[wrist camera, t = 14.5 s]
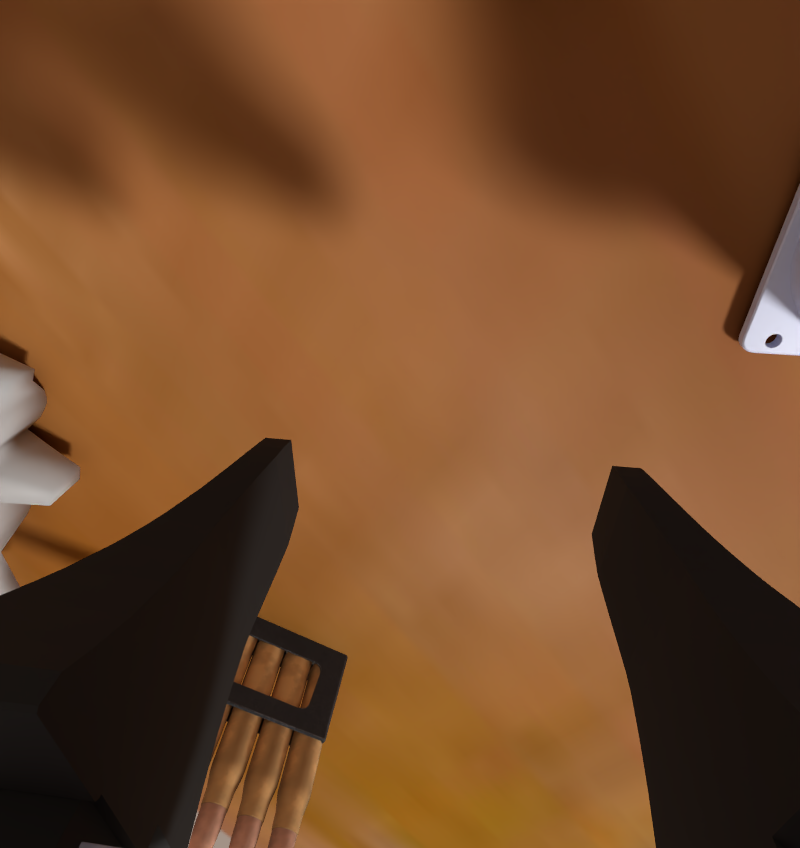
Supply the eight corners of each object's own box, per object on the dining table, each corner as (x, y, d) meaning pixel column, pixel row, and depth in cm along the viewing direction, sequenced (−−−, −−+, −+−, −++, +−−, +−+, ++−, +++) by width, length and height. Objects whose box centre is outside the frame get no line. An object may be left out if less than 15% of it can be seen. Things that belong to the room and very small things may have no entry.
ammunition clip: (174, 601, 31) (35, 846, 21) (183, 584, 30) (41, 833, 20) (335, 669, 33) (277, 923, 23) (348, 655, 32) (292, 914, 22)
